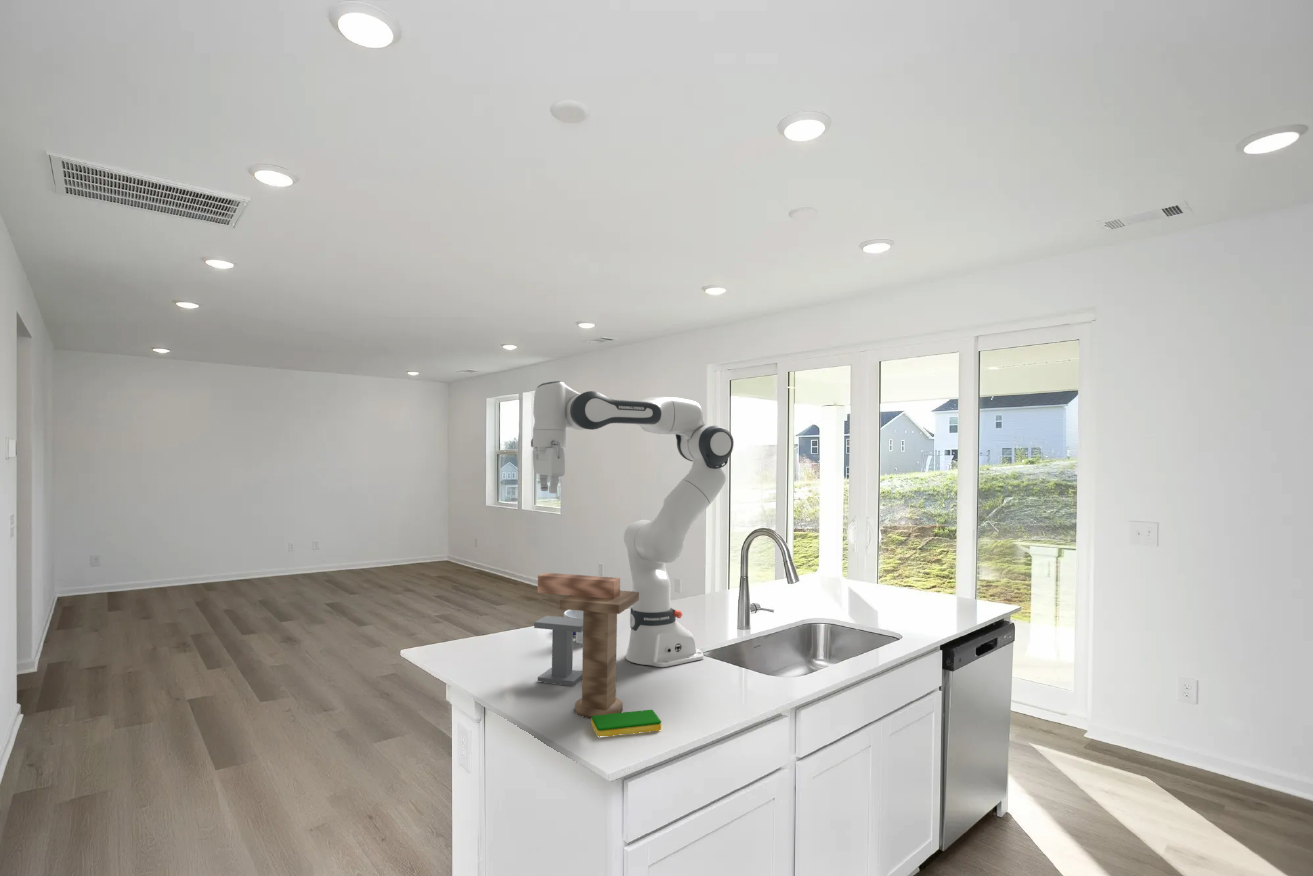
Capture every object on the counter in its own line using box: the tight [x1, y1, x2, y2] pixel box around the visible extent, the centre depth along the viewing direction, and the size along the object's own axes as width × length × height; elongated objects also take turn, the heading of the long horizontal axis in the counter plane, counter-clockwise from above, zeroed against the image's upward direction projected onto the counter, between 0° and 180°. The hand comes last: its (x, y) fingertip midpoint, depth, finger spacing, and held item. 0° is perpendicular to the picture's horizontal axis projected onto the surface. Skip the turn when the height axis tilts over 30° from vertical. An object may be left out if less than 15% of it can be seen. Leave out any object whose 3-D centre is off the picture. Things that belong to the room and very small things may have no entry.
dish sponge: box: [590, 709, 662, 737], centre depth 145 cm, size 7×14×2 cm, turn 107°
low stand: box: [533, 615, 583, 687], centre depth 175 cm, size 13×8×15 cm, turn 73°
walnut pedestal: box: [559, 590, 639, 719], centre depth 155 cm, size 14×14×26 cm
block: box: [537, 572, 621, 599], centre depth 157 cm, size 19×4×4 cm, turn 73°
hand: (548, 492), depth 182 cm, fingers open, 8 cm apart
